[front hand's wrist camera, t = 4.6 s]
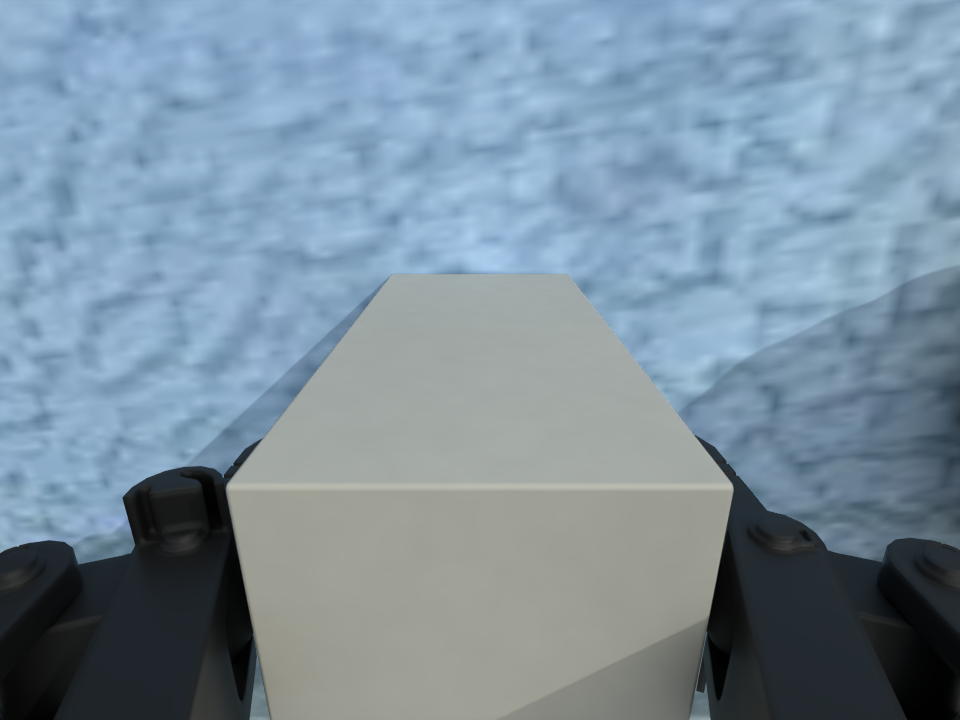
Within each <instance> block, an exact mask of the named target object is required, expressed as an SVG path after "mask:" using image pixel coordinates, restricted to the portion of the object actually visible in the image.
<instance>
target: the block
mask: <svg viewBox="0 0 960 720" xmlns="http://www.w3.org/2000/svg"><path fill="white" fill-rule="evenodd" d="M226 494H227V499H228V504H229V509H230V514H231V519H232V525H233V530H234V535H235V540H236V545H237V550H238V556H239V561H240V566H241V571H242V576H243V581H244V587H245V592H246V597H247V602H248V607H249V612H250V618H251V623H252V628H253V633H254V638H255V643H256V649H257V654H258V659H259V664H260V669H261V674H262V680H263V685H264V690H265V695H266V700H267V705H268V711H269V716H270V720H689V718H690V713H691V708H692V703H693V698H694V692H695V687H696V682H697V677H698V672H699V666H700V661H701V656H702V651H703V646H704V641H705V635H706V630H707V625H708V620H709V615H710V610H711V604H712V599H713V594H714V589H715V584H716V578H717V573H718V568H719V563H720V558H721V553H722V547H723V542H724V537H725V532H726V527H727V522H728V516H729V511H730V506H731V501H732V496H733V485H732V483H731V482H730V480H729V479H728V478H727V477H726V475H725V474H724V473H723V471H722V470H721V469H720V468H719V466H718V465H717V464H716V462H715V461H714V460H713V459H712V457H711V456H710V455H709V454H708V452H707V451H706V450H705V448H704V447H703V446H702V445H701V443H700V442H699V441H698V440H697V438H696V437H695V436H694V434H693V433H692V432H691V431H690V429H689V428H688V427H687V426H686V424H685V423H684V422H683V420H682V419H681V418H680V417H679V415H678V414H677V413H676V411H675V410H674V409H673V408H672V406H671V405H670V404H669V403H668V401H667V400H666V399H665V397H664V396H663V395H662V394H661V392H660V391H659V390H658V389H657V387H656V386H655V385H654V383H653V382H652V381H651V380H650V378H649V377H648V376H647V375H646V373H645V372H644V371H643V369H642V368H641V367H640V366H639V364H638V363H637V362H636V361H635V359H634V358H633V357H632V355H631V354H630V353H629V352H628V350H627V349H626V348H625V346H624V345H623V344H622V343H621V341H620V340H619V339H618V338H617V336H616V335H615V334H614V332H613V331H612V330H611V329H610V327H609V326H608V325H607V324H606V322H605V321H604V320H603V318H602V317H601V316H600V315H599V313H598V312H597V311H596V310H595V308H594V307H593V306H592V304H591V303H590V302H589V301H588V299H587V298H586V297H585V295H584V294H583V293H582V292H581V290H580V289H579V288H578V287H577V285H576V284H575V283H574V281H573V280H572V279H571V278H570V276H569V275H567V274H392V275H391V276H390V277H389V279H388V280H387V281H386V282H385V284H384V285H383V286H382V287H381V289H380V290H379V291H378V293H377V294H376V295H375V296H374V298H373V299H372V300H371V301H370V303H369V304H368V305H367V307H366V308H365V309H364V310H363V312H362V313H361V314H360V315H359V317H358V318H357V319H356V321H355V322H354V323H353V324H352V326H351V327H350V328H349V329H348V331H347V332H346V333H345V335H344V336H343V337H342V338H341V340H340V341H339V342H338V343H337V345H336V346H335V347H334V349H333V350H332V351H331V352H330V354H329V355H328V356H327V357H326V359H325V360H324V361H323V363H322V364H321V365H320V366H319V368H318V369H317V370H316V371H315V373H314V374H313V375H312V377H311V378H310V379H309V380H308V382H307V383H306V384H305V385H304V387H303V388H302V389H301V391H300V392H299V393H298V394H297V396H296V397H295V398H294V399H293V401H292V402H291V403H290V405H289V406H288V407H287V408H286V410H285V411H284V412H283V413H282V415H281V416H280V417H279V419H278V420H277V421H276V422H275V424H274V425H273V426H272V427H271V429H270V430H269V431H268V433H267V434H266V435H265V436H264V438H263V439H262V440H261V441H260V443H259V444H258V445H257V447H256V448H255V449H254V450H253V452H252V453H251V454H250V455H249V457H248V458H247V459H246V461H245V462H244V463H243V464H242V466H241V467H240V468H239V469H238V471H237V472H236V473H235V475H234V476H233V477H232V478H231V480H230V481H229V482H228V483H227V486H226Z"/></svg>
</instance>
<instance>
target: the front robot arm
mask: <svg viewBox="0 0 960 720" xmlns="http://www.w3.org/2000/svg"><path fill="white" fill-rule="evenodd" d="M694 436H695V437H696V438H697V440H698V441H699V442H700V443H701V445H702V446H703V447H704V448H705V450H706V451H707V452H708V454H709V455H710V456H711V457H712V459H713V460H714V461H715V462H716V464H717V465H718V466H719V468H720V469H721V470H722V471H723V473H724V474H725V475H726V477H727V478H728V479H729V480H730V482H731V483H732V485H733V496H732V501H731V506H730V511H729V516H728V522H727V527H726V532H725V537H724V542H723V547H722V553H721V558H720V563H719V568H718V573H717V578H716V584H715V589H714V594H713V599H712V604H711V610H710V615H709V620H708V625H707V630H706V631H707V637H706V642H705V647H704V652H703V657H702V662H701V668H700V673H699V678H698V684H697V691H699V692H703V693H704V689H705V684H706V683H707V692H708V700H709V709H710V717H711V720H960V550H958V549H957V548H955V547H952V546H949V545H946V544H944V545H943V544H941V543H940V542H935V541H931V540H923V539H915V538H905V539H897V540H895V541H893V542H892V543H890V544H889V545H888V546H887V549H886V552H885V555H884V558H883V561H882V562H878V561H873V560H868V559H863V558H858V557H853V556H848V555H844V554H839V553H835V552H831V551H828V550H827V548H826V546H825V544H824V543H823V542H822V540H821V539H820V538H819V536H818V535H817V534H816V533H815V532H814V531H812V530H811V529H810V528H808V527H807V526H805V525H804V524H803V523H801V522H799V521H796V520H794V519H792V518H790V517H788V516H785V515H782V514H778V513H774V512H770V511H767V510H766V509H765V508H764V506H763V505H762V504H761V503H760V502H759V500H758V499H757V498H756V497H755V495H754V494H753V493H752V492H751V491H750V489H749V488H748V487H747V486H746V485H745V483H744V482H743V481H742V480H741V478H740V477H739V476H736V472H735V471H734V470H733V469H732V468H731V466H730V465H729V464H726V460H725V459H724V458H723V457H722V455H721V454H720V453H719V452H718V451H717V449H716V448H715V447H714V446H712V445H710V444H709V443H707V442H706V441H704V440H702V439H701V438H699V437H697V436H696V435H694ZM262 439H263V438H262ZM262 439H260V440H259V441H257V442H256V443H254V444H252V445H251V446H249V447H248V448H246V449H245V450H244V451H243V452H242V454H241V455H240V456H239V457H238V458H237V460H236V461H235V462H234V466H231V467H230V468H229V469H228V471H227V472H226V473H225V474H224V478H223V477H222V474H220V473H219V472H218V471H216V470H215V469H212V468H207V467H202V466H195V467H182V468H177V469H172V470H168V471H164V472H162V473H159V474H156V475H154V476H151V477H149V478H146V479H145V480H143V481H142V482H140V483H138V484H137V485H135V486H133V487H132V488H131V489H130V490H129V491H128V492H127V493H126V494H125V495H124V497H123V502H124V505H125V509H126V513H127V516H128V520H129V523H130V527H131V531H132V534H133V538H134V542H135V547H134V549H133V551H132V553H130V554H126V555H123V556H118V557H113V558H108V559H104V560H99V561H94V562H89V563H84V564H79V565H78V562H77V559H76V556H75V553H74V550H73V548H72V547H71V546H69V545H68V544H66V543H65V542H59V541H51V540H48V541H41V542H34V543H27V544H23V545H19V547H17V546H16V547H13V548H10V549H7V550H5V551H3V552H2V553H0V720H249V719H250V710H251V702H252V693H253V685H254V676H255V668H256V659H257V654H256V648H255V642H254V637H253V628H252V623H251V618H250V612H249V607H248V602H247V597H246V592H245V587H244V581H243V576H242V571H241V566H240V561H239V556H238V550H237V545H236V540H235V535H234V530H233V525H232V519H231V514H230V509H229V504H228V499H227V494H226V486H227V483H228V482H229V481H230V480H231V478H232V477H233V476H234V475H235V473H236V472H237V471H238V469H239V468H240V467H241V466H242V464H243V463H244V462H245V461H246V459H247V458H248V457H249V455H250V454H251V453H252V452H253V450H254V449H255V448H256V447H257V445H258V444H259V443H260V441H261V440H262Z"/></svg>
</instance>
